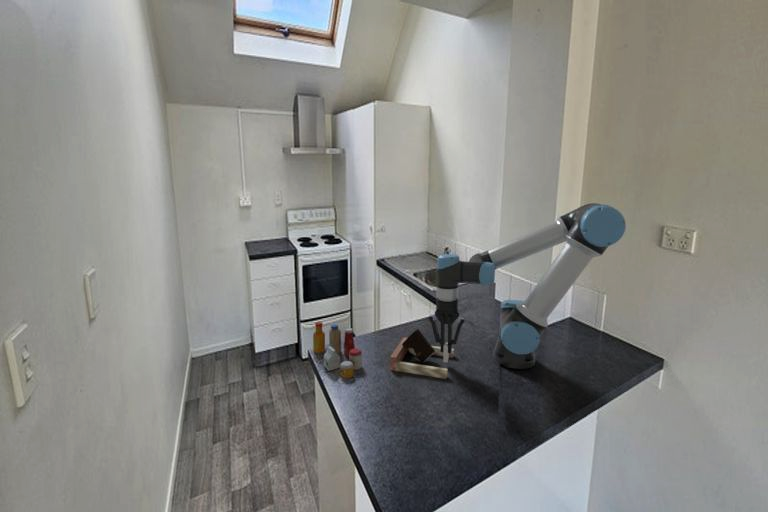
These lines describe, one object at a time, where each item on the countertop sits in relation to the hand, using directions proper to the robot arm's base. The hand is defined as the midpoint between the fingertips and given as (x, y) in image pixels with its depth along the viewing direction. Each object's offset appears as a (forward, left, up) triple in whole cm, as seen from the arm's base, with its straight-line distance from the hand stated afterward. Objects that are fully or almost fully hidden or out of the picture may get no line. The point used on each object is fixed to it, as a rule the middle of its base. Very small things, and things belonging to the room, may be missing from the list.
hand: (445, 360), depth 135 cm
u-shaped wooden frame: (+7, 0, -2) cm, 8 cm away
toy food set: (+39, +8, -3) cm, 40 cm away
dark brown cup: (+6, -1, 0) cm, 6 cm away
